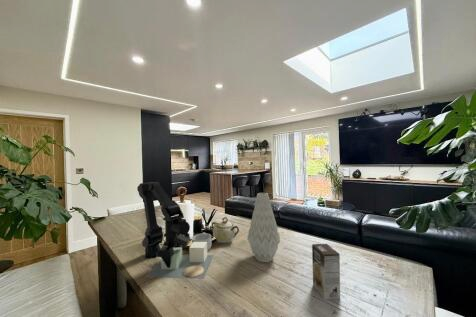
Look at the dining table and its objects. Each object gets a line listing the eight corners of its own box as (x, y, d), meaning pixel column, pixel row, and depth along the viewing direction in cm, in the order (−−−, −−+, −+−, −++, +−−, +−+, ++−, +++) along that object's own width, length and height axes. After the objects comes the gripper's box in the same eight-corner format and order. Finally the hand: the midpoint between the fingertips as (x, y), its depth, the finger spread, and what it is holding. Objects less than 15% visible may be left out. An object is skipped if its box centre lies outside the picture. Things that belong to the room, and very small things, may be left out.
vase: (240, 258, 102) (239, 194, 102) (260, 248, 114) (259, 190, 115) (268, 270, 91) (266, 197, 91) (286, 257, 103) (285, 193, 103)
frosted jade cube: (161, 269, 93) (161, 253, 93) (168, 261, 100) (167, 247, 100) (176, 269, 92) (176, 254, 92) (182, 261, 99) (182, 247, 99)
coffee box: (312, 284, 80) (311, 243, 80) (327, 283, 81) (326, 243, 81) (323, 300, 71) (322, 254, 71) (341, 298, 71) (340, 253, 72)
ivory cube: (189, 262, 99) (189, 247, 99) (193, 255, 106) (193, 241, 106) (204, 262, 98) (203, 247, 98) (207, 255, 105) (207, 241, 105)
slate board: (144, 278, 87) (144, 276, 87) (166, 255, 107) (166, 254, 107) (204, 279, 84) (204, 278, 84) (213, 256, 105) (213, 255, 105)
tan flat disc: (180, 277, 86) (180, 276, 86) (187, 266, 95) (187, 265, 95) (200, 277, 85) (200, 276, 85) (205, 266, 94) (205, 265, 94)
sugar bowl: (244, 239, 127) (244, 215, 127) (232, 248, 114) (232, 222, 114) (218, 234, 136) (218, 212, 137) (204, 242, 123) (204, 218, 123)
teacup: (207, 255, 106) (207, 240, 106) (188, 254, 108) (188, 239, 108) (215, 245, 120) (215, 231, 120) (198, 243, 122) (198, 230, 122)
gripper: (181, 238, 86) (181, 274, 86) (193, 224, 105) (194, 254, 105) (155, 237, 87) (156, 274, 87) (173, 224, 106) (173, 254, 105)
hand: (172, 263), depth 96 cm, fingers closed on frosted jade cube, 7 cm apart
